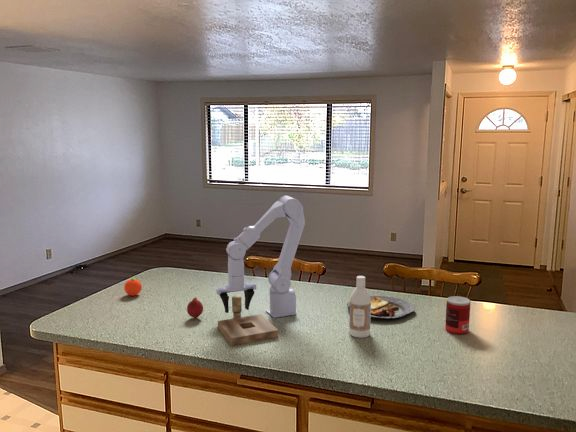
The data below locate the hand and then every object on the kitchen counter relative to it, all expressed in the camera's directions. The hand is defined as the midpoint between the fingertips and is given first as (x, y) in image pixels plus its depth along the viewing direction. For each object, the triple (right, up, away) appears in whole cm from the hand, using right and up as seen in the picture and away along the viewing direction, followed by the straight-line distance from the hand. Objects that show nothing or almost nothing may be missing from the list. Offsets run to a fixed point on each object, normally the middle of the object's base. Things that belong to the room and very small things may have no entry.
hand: (236, 310), depth 183 cm
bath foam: (+43, -6, -14) cm, 45 cm away
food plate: (+54, -2, +8) cm, 54 cm away
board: (+5, -5, -12) cm, 14 cm away
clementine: (-46, +1, +27) cm, 53 cm away
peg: (0, -3, +1) cm, 3 cm away
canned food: (+76, -5, -11) cm, 77 cm away
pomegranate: (-15, -3, 0) cm, 16 cm away
